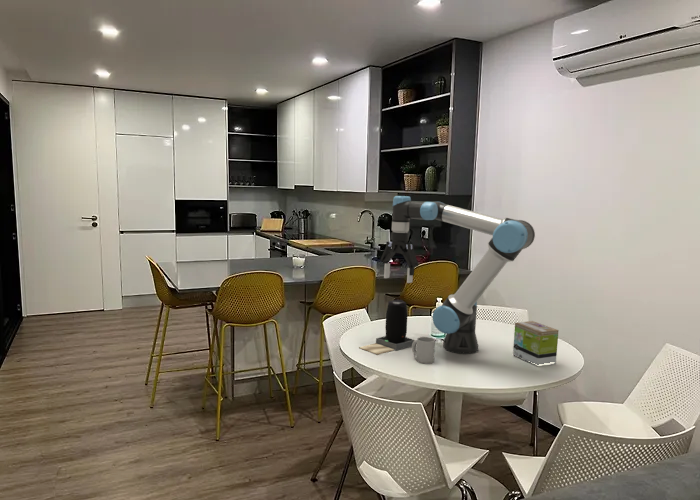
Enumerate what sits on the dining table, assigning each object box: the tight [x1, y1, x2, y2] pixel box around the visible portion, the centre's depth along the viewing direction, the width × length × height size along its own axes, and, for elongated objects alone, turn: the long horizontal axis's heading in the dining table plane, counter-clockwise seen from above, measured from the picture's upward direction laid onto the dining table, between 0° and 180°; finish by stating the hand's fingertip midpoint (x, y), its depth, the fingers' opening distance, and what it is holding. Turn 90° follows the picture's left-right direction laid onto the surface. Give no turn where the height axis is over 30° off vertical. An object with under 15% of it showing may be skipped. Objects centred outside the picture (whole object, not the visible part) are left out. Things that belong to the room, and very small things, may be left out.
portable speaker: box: [385, 299, 408, 344], centre depth 227 cm, size 9×9×20 cm
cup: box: [411, 336, 436, 365], centre depth 208 cm, size 7×10×9 cm
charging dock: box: [375, 335, 415, 351], centre depth 228 cm, size 12×12×3 cm
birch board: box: [358, 342, 395, 356], centre depth 220 cm, size 11×10×1 cm
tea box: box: [512, 320, 559, 365], centre depth 212 cm, size 15×10×15 cm
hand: (397, 280), depth 225 cm, fingers open, 13 cm apart
